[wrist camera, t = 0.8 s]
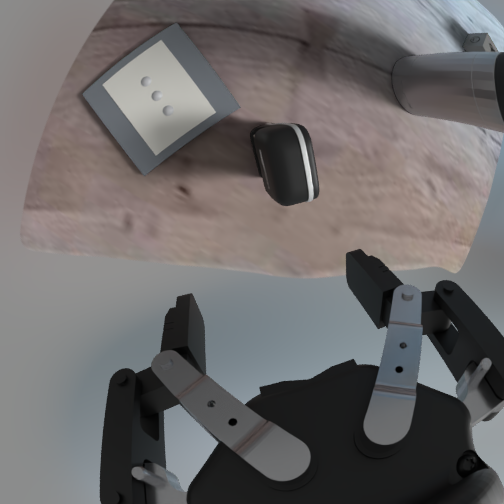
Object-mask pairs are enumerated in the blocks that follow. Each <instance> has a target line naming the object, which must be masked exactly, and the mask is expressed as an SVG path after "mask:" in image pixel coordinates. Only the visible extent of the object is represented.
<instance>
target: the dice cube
mask: <svg viewBox="0 0 504 504" xmlns="http://www.w3.org/2000/svg"><path fill="white" fill-rule="evenodd" d="M463 48H464V49H465V51H466V52H498V50H497V48H496V47H495V45H494V43H493V41H492V40H491V38H490V36H489V35H488V33H473V34H468V36H467V38H466V40H465V42H464V45H463Z"/></svg>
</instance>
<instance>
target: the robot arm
mask: <svg viewBox="0 0 504 504" xmlns="http://www.w3.org/2000/svg"><path fill="white" fill-rule="evenodd" d="M392 84H393V89H394V92H395V95H396V97H397V99H398V101H399V102H400V104H401V105H402V106H403V108H405V109H406V110H407V111H408V112H410V113H411V114H414V115H417V116H424V117H431V118H437V119H443V120H449V121H454V122H459V123H464V124H469V125H474V126H478V127H482V128H486V129H490V130H494V131H498V132H502V133H504V52H450V53H436V54H426V55H416V56H408V57H404V58H401V59H400V60H398V61H397V63H396V64H395V66H394V68H393V72H392ZM346 278H347V283H348V286H349V288H350V289H351V291H352V292H353V294H354V295H355V296H356V298H357V299H358V301H359V302H360V303H361V305H362V306H363V308H364V309H365V311H366V312H367V314H368V315H369V316H370V318H371V319H372V321H373V322H374V324H375V325H376V327H377V328H378V329H380V328H382V327H385V326H386V327H387V329H388V330H387V335H386V340H385V345H384V350H383V355H382V358H381V363H380V367H378V366H375V365H366V364H364V365H363V364H362V365H357V364H356V362H355V360H354V359H352V360H349V361H346V362H344V363H341V364H338V365H335V366H332V367H330V368H329V369H327V370H325V371H324V372H322V373H320V374H318V375H317V376H315V377H313V378H311V379H308V380H295V381H282V382H279V383H275V384H271V385H267V386H263V387H260V392H261V394H259V395H257V396H256V397H254V398H252V399H251V400H250V401H248V402H247V403H246V404H245V405H244V404H243V403H242V402H240V401H239V400H238V399H236V398H235V397H234V396H232V395H231V394H230V393H229V392H227V391H226V390H225V389H224V388H222V387H221V386H220V385H218V384H217V383H216V382H215V381H214V380H213V379H211V378H210V377H209V376H208V375H206V359H205V327H204V321H203V317H202V315H201V312H200V310H199V308H198V305H197V303H196V301H195V299H194V296H193V294H192V293H191V294H187V295H182V296H178V297H177V301H176V307H174V308H170V309H169V311H168V313H167V314H166V316H165V323H164V329H163V330H164V331H163V336H162V343H161V351H160V353H159V354H158V355H156V356H155V358H154V359H153V361H152V363H151V367H149V368H147V369H145V370H143V371H140V372H138V373H136V374H135V372H134V371H133V370H131V369H128V368H125V369H121V370H119V371H117V372H116V373H115V374H114V375H113V376H112V378H111V380H110V384H109V390H108V396H107V403H106V410H105V418H104V427H103V439H102V450H101V467H100V501H101V504H504V488H503V485H502V483H501V481H500V479H499V476H498V475H497V473H496V472H495V471H494V470H493V469H492V468H491V467H490V466H488V465H487V464H486V463H485V462H484V461H482V459H481V458H480V457H479V456H478V455H477V453H476V451H475V448H474V444H473V438H472V427H473V426H474V425H476V424H477V423H479V422H480V421H489V420H491V419H492V418H494V416H496V415H497V414H498V413H499V411H500V410H501V409H502V408H503V407H504V337H503V336H502V335H501V333H500V332H499V331H498V329H497V328H496V327H495V326H494V325H493V323H492V322H491V321H490V320H489V319H488V317H487V316H486V315H485V314H484V313H483V312H482V311H481V309H480V308H479V307H478V306H477V305H476V304H475V303H474V302H473V301H472V299H471V298H470V297H469V296H468V295H467V294H466V293H465V292H464V291H463V290H462V289H461V288H460V287H459V286H458V285H457V284H456V283H454V282H452V281H448V280H443V281H440V282H438V283H437V284H436V287H435V291H426V292H420V290H419V289H418V288H417V287H415V286H412V285H404V284H403V283H402V282H401V281H400V280H399V279H398V278H397V277H396V276H395V275H394V274H393V273H392V272H391V271H390V270H389V268H388V267H387V266H385V264H384V263H383V262H382V261H381V260H380V259H378V258H376V257H373V256H367V255H366V254H365V253H364V252H363V251H362V250H361V249H358V250H355V251H351V252H348V253H347V254H346ZM451 321H452V323H453V324H454V325H455V327H456V328H457V330H458V331H457V330H456V329H455V327H454V326H453V325H452V323H451ZM422 335H427V336H428V337H429V339H430V340H431V342H432V343H433V345H434V346H435V348H436V349H437V351H438V352H439V354H440V355H441V357H442V359H443V360H444V362H445V363H446V365H447V366H448V368H449V370H450V371H451V373H452V374H453V376H454V378H455V380H456V381H457V386H456V394H457V396H458V397H457V398H456V397H453V396H451V395H448V394H445V393H443V392H440V391H438V390H435V389H432V388H430V387H427V386H425V385H422V384H420V383H418V382H417V379H418V372H419V364H420V354H421V345H422ZM178 404H180V405H181V406H182V407H183V408H184V409H185V410H186V411H187V412H188V413H189V414H190V415H191V416H192V417H193V418H194V419H195V420H196V421H197V422H198V423H199V424H200V425H201V426H202V427H203V428H204V429H205V430H206V431H207V432H208V433H209V434H210V435H211V436H212V437H213V438H214V439H215V440H216V441H218V445H217V446H216V448H215V449H214V451H213V452H212V454H211V455H210V457H209V458H208V460H207V461H206V463H205V464H204V466H203V467H202V468H201V470H200V471H199V473H198V474H197V475H196V477H195V478H194V479H193V481H192V482H191V484H190V486H189V488H188V491H187V492H184V491H183V489H182V488H181V486H180V483H179V480H178V478H177V477H176V476H175V475H174V474H173V473H171V472H170V471H168V470H166V459H165V441H164V410H166V409H169V408H171V407H173V406H176V405H178Z"/></svg>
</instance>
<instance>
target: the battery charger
mask: <svg viewBox="0 0 504 504" xmlns="http://www.w3.org/2000/svg"><path fill="white" fill-rule="evenodd" d="M250 137H251V142H252V147H253V151H254V155H255V159H256V163H257V167H258V171H259V174H260V176H261V177H262V178H263V182H264V186H265V189H266V191H267V193H268V194H269V195H270V196H271V197H272V198H273V199H274V200H275V201H276V202H277V203H279V204H281V205H283V206H290V205H294V204H298V203H302V202H310V201H312V200H313V199H315V198H317V197H318V195H319V182H318V175H317V169H316V163H315V157H314V152H313V147H312V142H311V138H310V135H309V133H308V131H307V130H306V128H305V127H304V126H302V125H299V124H295V123H276V124H275V123H266V124H265V125H260V126H258V127H256V128H254V129H253V130H252V131H251V134H250Z"/></svg>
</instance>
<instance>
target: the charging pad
mask: <svg viewBox="0 0 504 504" xmlns="http://www.w3.org/2000/svg"><path fill="white" fill-rule="evenodd" d="M83 96H84V97H85V99H86V100H87V101H88V103H89V104H90V106H91V107H92V108H93V110H94V111H95V112H96V114H97V115H98V116H99V118H100V119H101V120H102V122H103V123H104V124H105V126H106V127H107V128H108V130H109V131H110V132H111V134H112V135H113V136H114V138H115V139H116V140H117V142H118V143H119V144H120V146H121V147H122V148H123V149H124V151H125V152H126V153H127V155H128V156H129V157H130V159H131V160H132V161H133V162H134V164H135V165H136V166H137V167H138V169H139V170H140V171H141V173H142V174H143V175H144V176H145V175H146V174H148V173H149V172H150V171H151V170H153V169H154V168H155V167H156V166H158V165H159V164H160V163H161V162H163V161H164V160H165V159H167V158H168V157H169V156H170V155H172V154H173V153H174V152H176V151H177V150H178V149H180V148H181V147H182V146H184V145H185V144H187V143H188V142H189V141H191V140H192V139H194V138H195V137H196V136H198V135H199V134H201V133H202V132H204V131H205V130H206V129H208V128H209V127H211V126H212V125H214V124H215V123H217V122H218V121H220V120H221V119H223V118H225V117H226V116H228V115H229V114H231V113H232V112H234V111H236V110H237V109H239V108H241V107H240V106H239V104H238V103H237V101H236V100H235V98H234V97H233V96H232V94H231V93H230V91H229V90H228V89H227V87H226V86H225V84H224V83H223V82H222V80H221V79H220V78H219V76H218V75H217V73H216V72H215V71H214V69H213V68H212V67H211V65H210V64H209V63H208V61H207V60H206V59H205V58H204V56H203V55H202V54H201V52H200V51H199V50H198V49H197V47H196V46H195V45H194V43H193V42H192V41H191V40H190V38H189V37H188V36H187V35H186V33H185V32H184V31H183V30H182V29H181V27H180V26H179V25H178V24H177V23H174V24H173V25H171V26H169V27H168V28H166V29H164V30H163V31H161V32H160V33H158V34H157V35H155V36H154V37H152V38H151V39H149V40H148V41H146V42H145V43H143V44H142V45H141V46H139V47H138V48H136V49H135V50H134V51H132V52H131V53H130V54H128V55H127V56H126V57H124V58H123V59H122V60H121V61H119V62H118V63H117V64H116V65H114V66H113V67H112V68H111V69H110V70H108V71H107V72H106V73H105V74H104V75H103V76H101V77H100V78H99V79H98V80H97V81H96V82H95V83H94V84H92V85H91V86H90V87H89V88H88V89H87V90H86V91H85V92H84V93H83Z"/></svg>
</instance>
